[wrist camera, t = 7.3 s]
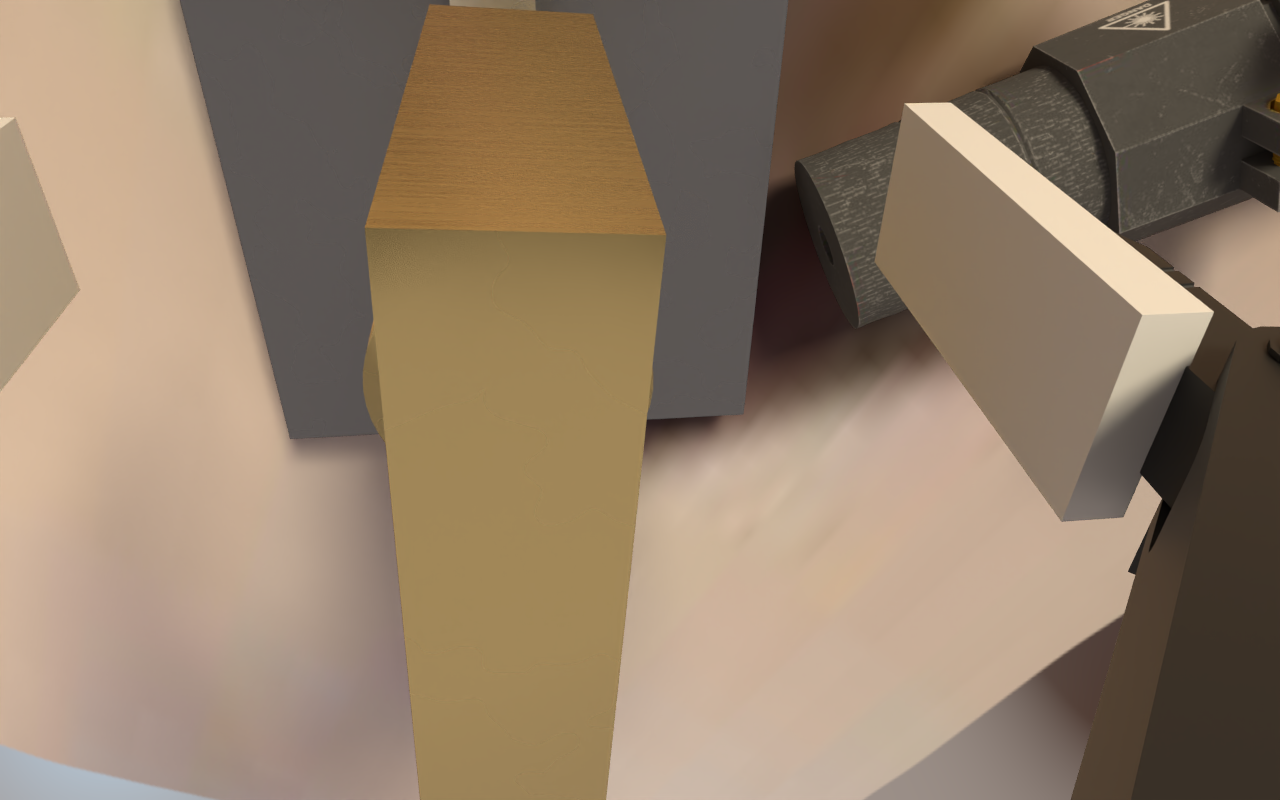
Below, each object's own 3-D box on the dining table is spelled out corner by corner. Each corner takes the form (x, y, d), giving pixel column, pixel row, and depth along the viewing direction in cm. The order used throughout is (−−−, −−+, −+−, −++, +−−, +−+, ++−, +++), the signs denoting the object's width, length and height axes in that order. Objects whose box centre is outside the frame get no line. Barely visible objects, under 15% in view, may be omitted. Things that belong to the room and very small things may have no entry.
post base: (183, -90, 24) (84, -40, 18) (777, -85, 26) (854, -39, 20) (300, 405, 33) (259, 540, 28) (732, 383, 35) (776, 505, 29)
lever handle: (403, 532, 28) (342, 1010, 17) (351, -46, 19) (154, 222, 8) (613, 527, 29) (676, 978, 18) (662, -26, 20) (845, 239, 9)
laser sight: (762, 71, 29) (863, 198, 20) (1508, -234, 26) (1960, -228, 18) (832, 318, 34) (933, 495, 26) (1451, 87, 32) (1776, 202, 24)
